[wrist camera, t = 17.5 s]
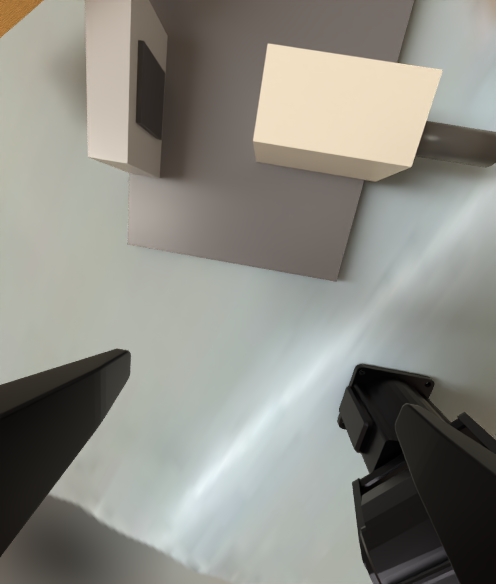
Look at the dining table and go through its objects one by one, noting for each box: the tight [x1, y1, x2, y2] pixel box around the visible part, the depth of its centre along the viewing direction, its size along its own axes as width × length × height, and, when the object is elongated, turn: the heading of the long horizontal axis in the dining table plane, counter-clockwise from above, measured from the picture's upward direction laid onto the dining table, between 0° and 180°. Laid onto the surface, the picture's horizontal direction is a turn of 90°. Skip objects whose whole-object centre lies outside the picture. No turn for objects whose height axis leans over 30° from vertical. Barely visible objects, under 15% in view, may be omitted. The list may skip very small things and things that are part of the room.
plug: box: [253, 43, 496, 182], centre depth 13 cm, size 13×4×4 cm, turn 81°
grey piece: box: [85, 0, 414, 281], centre depth 14 cm, size 16×18×5 cm
